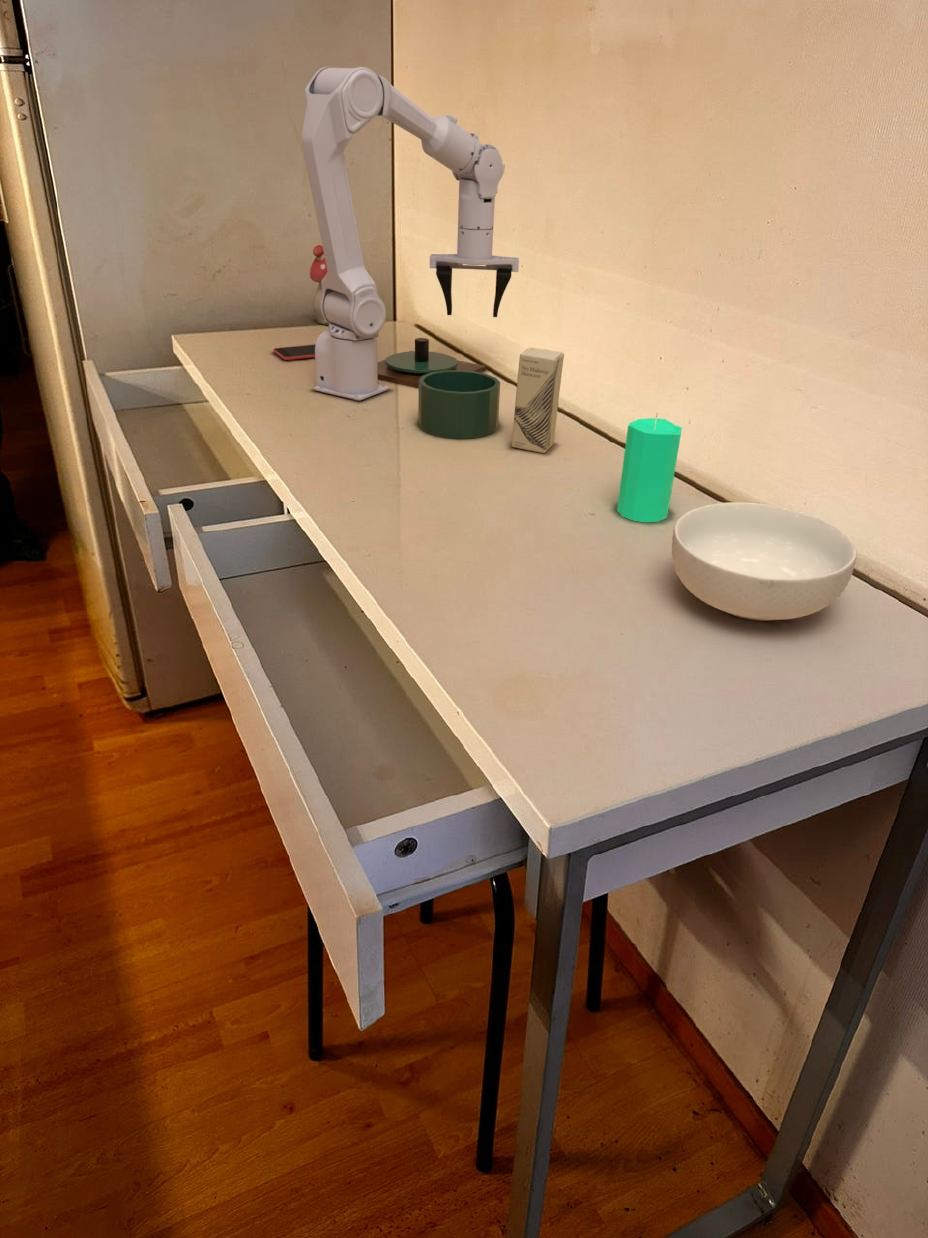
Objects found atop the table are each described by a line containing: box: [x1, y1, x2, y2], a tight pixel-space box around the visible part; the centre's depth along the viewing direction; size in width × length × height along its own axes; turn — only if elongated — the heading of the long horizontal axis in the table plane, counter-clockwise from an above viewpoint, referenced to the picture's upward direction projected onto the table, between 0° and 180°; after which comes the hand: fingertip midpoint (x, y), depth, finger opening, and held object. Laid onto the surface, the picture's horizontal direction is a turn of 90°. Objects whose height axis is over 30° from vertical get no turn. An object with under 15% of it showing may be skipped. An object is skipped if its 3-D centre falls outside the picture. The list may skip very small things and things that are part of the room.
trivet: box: [377, 350, 487, 389], centre depth 154 cm, size 16×16×1 cm
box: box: [511, 347, 565, 454], centre depth 121 cm, size 5×4×13 cm
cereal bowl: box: [671, 501, 858, 622], centre depth 86 cm, size 17×17×7 cm
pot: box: [417, 370, 501, 440], centre depth 129 cm, size 11×11×6 cm
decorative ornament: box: [309, 244, 329, 326], centre depth 180 cm, size 9×7×15 cm
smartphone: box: [273, 343, 316, 361], centre depth 162 cm, size 7×1×14 cm
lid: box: [384, 337, 458, 374], centre depth 153 cm, size 12×12×5 cm
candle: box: [616, 412, 683, 523], centre depth 103 cm, size 6×6×12 cm
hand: (472, 314), depth 151 cm, fingers open, 7 cm apart
